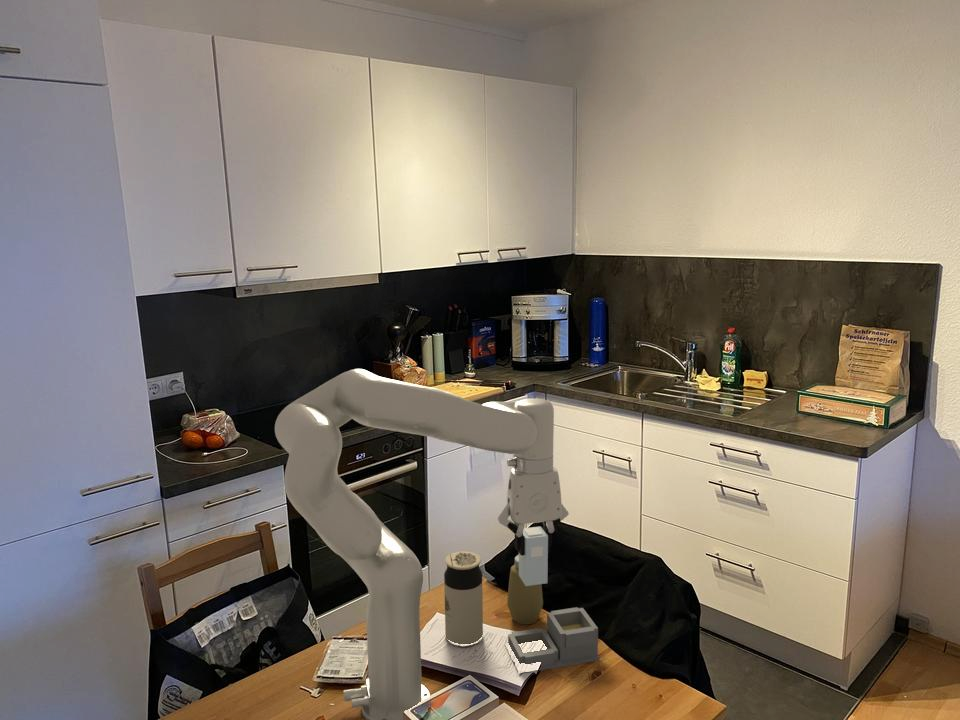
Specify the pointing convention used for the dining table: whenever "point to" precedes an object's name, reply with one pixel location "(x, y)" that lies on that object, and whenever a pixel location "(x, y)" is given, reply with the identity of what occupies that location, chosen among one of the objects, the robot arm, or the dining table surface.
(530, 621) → the squeeze bottle
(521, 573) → the plug
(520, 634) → the block
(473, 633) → the travel mug
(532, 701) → the dining table surface
